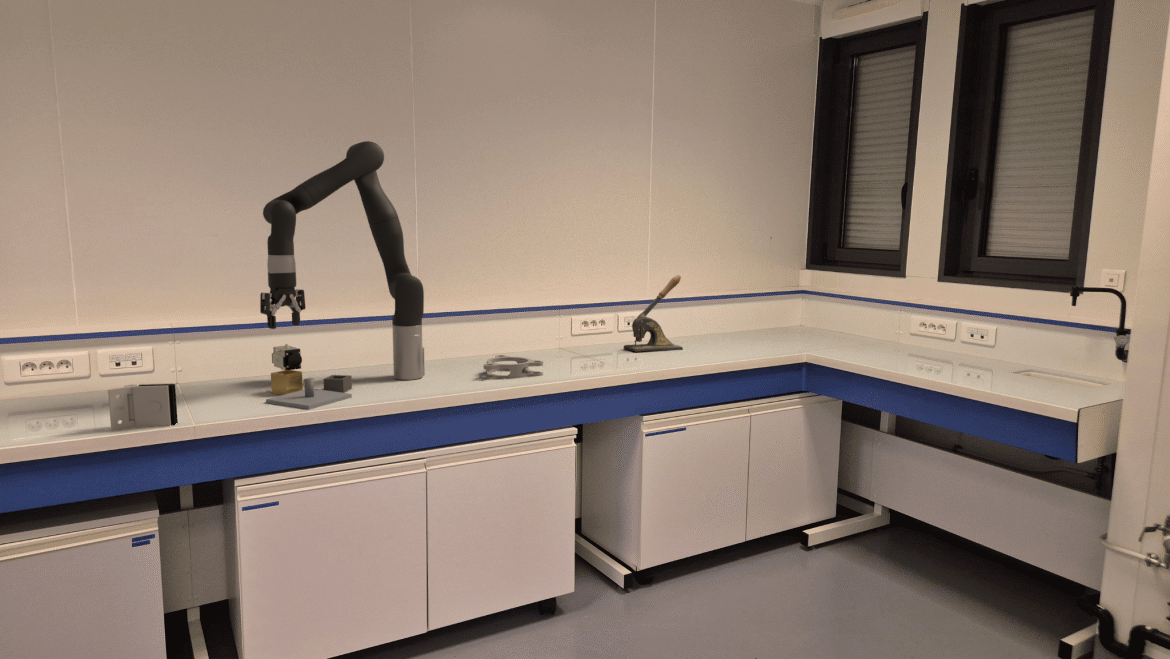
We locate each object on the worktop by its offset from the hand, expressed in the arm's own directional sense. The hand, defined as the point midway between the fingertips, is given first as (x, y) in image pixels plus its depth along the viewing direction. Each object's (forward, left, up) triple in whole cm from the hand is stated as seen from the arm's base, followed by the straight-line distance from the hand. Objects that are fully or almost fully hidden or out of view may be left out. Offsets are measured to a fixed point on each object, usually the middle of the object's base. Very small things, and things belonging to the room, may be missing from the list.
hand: (284, 326), depth 218 cm
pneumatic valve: (-10, -11, -20) cm, 25 cm away
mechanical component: (-56, +41, -20) cm, 72 cm away
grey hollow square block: (-9, +11, -19) cm, 24 cm away
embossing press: (-126, +67, -20) cm, 144 cm away
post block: (+4, +13, -19) cm, 24 cm away
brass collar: (0, 0, -19) cm, 19 cm away
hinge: (+43, -1, -20) cm, 47 cm away
